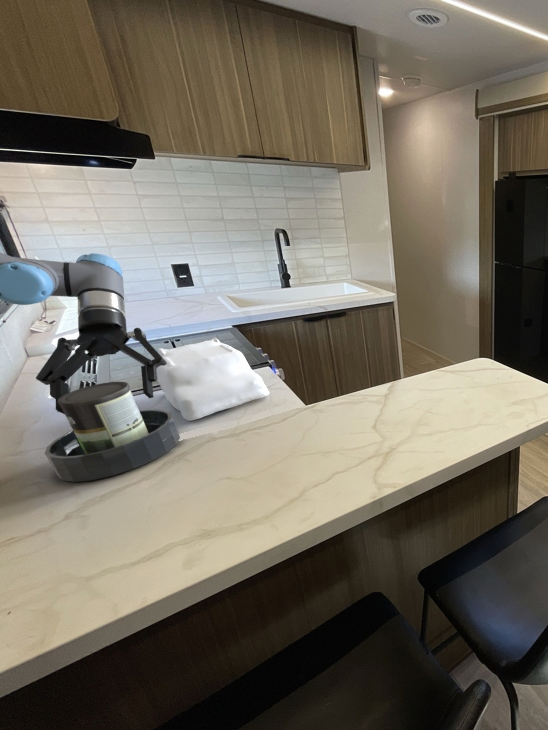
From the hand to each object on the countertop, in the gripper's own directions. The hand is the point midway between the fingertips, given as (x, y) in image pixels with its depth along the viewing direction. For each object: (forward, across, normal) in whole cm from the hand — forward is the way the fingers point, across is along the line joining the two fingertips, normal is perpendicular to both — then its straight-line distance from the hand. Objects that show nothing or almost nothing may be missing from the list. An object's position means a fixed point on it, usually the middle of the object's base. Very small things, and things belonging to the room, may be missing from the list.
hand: (107, 403), depth 82 cm
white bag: (-8, -14, -24) cm, 28 cm away
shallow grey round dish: (+9, 0, -6) cm, 11 cm away
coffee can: (+9, 0, -6) cm, 11 cm away
